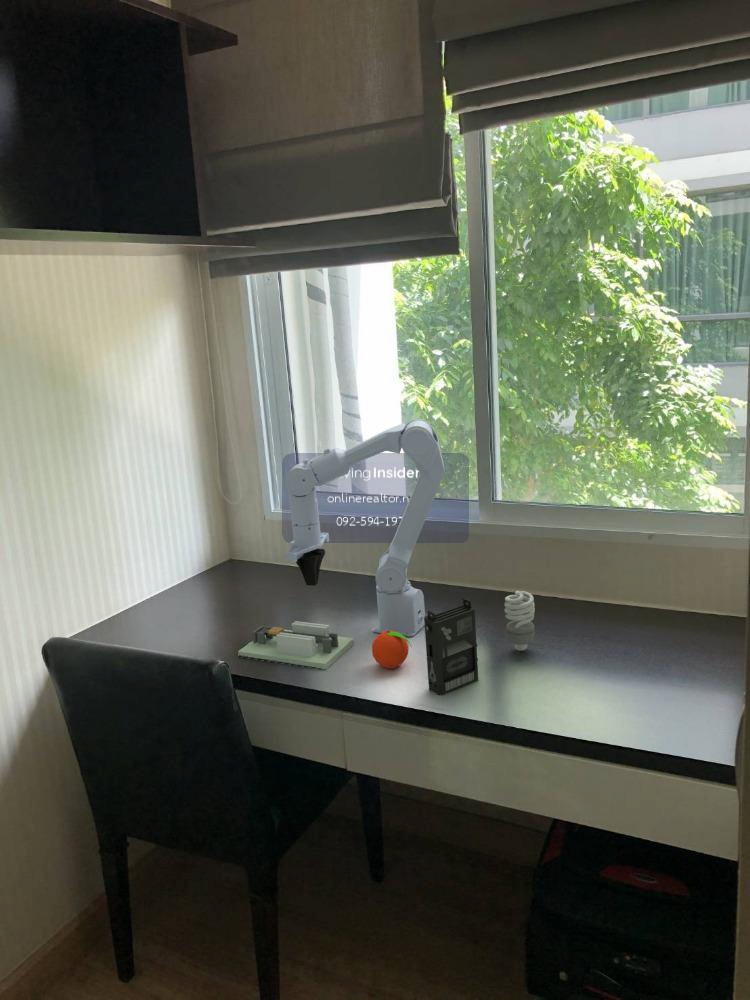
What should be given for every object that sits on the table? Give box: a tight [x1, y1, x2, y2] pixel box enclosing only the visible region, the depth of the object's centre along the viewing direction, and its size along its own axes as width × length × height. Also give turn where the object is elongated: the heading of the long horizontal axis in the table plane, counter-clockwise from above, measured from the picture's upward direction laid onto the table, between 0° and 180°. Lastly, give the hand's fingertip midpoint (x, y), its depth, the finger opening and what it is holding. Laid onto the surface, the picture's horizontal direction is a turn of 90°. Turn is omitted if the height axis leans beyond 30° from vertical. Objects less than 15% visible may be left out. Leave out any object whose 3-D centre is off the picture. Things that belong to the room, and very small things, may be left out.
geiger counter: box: [424, 597, 479, 696], centre depth 142 cm, size 10×4×15 cm, turn 123°
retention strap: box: [260, 626, 334, 643], centre depth 161 cm, size 16×2×1 cm, turn 64°
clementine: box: [371, 631, 412, 669], centre depth 151 cm, size 8×7×7 cm
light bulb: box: [504, 590, 536, 652], centre depth 153 cm, size 6×6×12 cm
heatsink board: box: [237, 620, 355, 670], centre depth 162 cm, size 20×12×5 cm, turn 64°
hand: (312, 584), depth 169 cm, fingers closed
